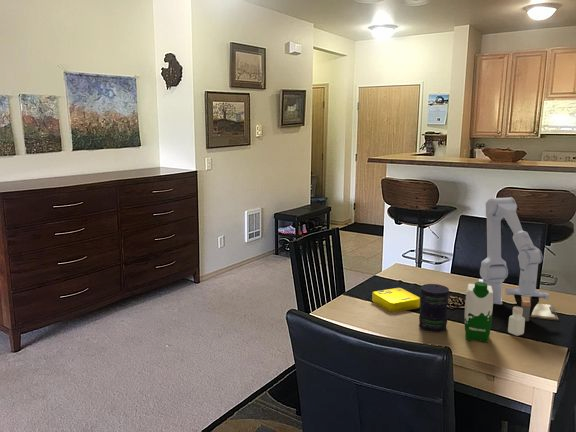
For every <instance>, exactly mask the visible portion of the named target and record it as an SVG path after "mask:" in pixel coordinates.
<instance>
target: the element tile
mask: <svg viewBox="0 0 576 432" xmlns="http://www.w3.org/2000/svg"><path fill="white" fill-rule="evenodd" d="M371 295H372V298H371V301H373V302H372V303H374V304H375V305H377V306H379V307H380V308H382V309H383V310H385V311H387V312H389V313H398V312H403V311H410V310H415V309H419V308H421V302H420V298H421V297H420V296H417V295H416V294H413V293H412V292H410V291H407V290H406V289H404V288H402V287H396V288H395V287H394V288H388V289H387V288H386V289H382V290H380V289H379V290H375V291H372V294H371Z"/></svg>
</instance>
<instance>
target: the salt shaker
mask: <svg viewBox="0 0 576 432" xmlns="http://www.w3.org/2000/svg"><path fill="white" fill-rule="evenodd" d="M522 314H523V308H521V307H518V306H513V307H512V315H510V316H509V317H508V325H507V326H508V327H507V333H509V334H511V335H514V336H517V337H518V336H522V335H524V333H525V327H526V326H525V325H526V324H525V323H526V321H525V318H524V317H522Z"/></svg>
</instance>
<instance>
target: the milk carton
mask: <svg viewBox="0 0 576 432" xmlns="http://www.w3.org/2000/svg"><path fill="white" fill-rule="evenodd" d="M464 305H465V306H464V318H463V319H464V321H463V323H464V331H465V340H467V341H473V342H474V341H475V342H481V343H489V338H490V334H491V329H492V323H493V322H492V321H493V320H492V319H493V308H494V307H493V306H494V304H493V290H492V287H491V286H488V285H487V284H486V283H482V282H479V281H477V282H475V283H468V284H467V288H466V293H465V304H464Z"/></svg>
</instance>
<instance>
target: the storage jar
mask: <svg viewBox="0 0 576 432" xmlns="http://www.w3.org/2000/svg"><path fill="white" fill-rule="evenodd" d="M449 292H450V289H449V287H447V286H445V285H442V284H438V283H437V284H436V283H426V284H423V285H421V286H420V296H419V298H420V311H419V315H418V316H419V317H418V321H419V324H418V327H419V329H421V330H423V331H424V332H428V333H433V334H434V333H435V334H436V333H439V334H440V333H444V332H446V331H447V324H448V314H447V312H448V305H449V301H450V300H449V297H450V295H449Z"/></svg>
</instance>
